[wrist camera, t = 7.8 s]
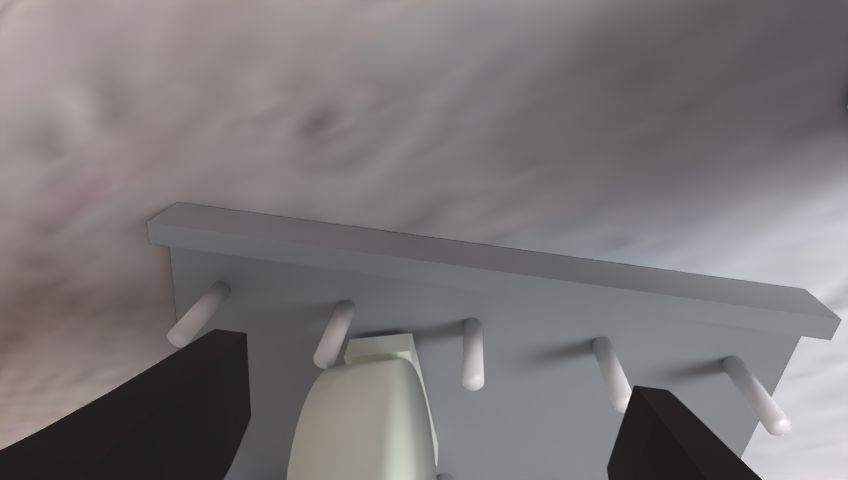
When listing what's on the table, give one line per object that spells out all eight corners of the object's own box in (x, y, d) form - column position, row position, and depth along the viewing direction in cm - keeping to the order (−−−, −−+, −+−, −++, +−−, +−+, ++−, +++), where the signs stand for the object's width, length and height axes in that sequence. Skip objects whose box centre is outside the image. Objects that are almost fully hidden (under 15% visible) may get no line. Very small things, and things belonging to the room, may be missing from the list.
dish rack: (804, 289, 18) (887, 357, 15) (681, 548, 24) (718, 643, 20) (177, 202, 19) (108, 246, 15) (201, 474, 25) (154, 553, 21)
